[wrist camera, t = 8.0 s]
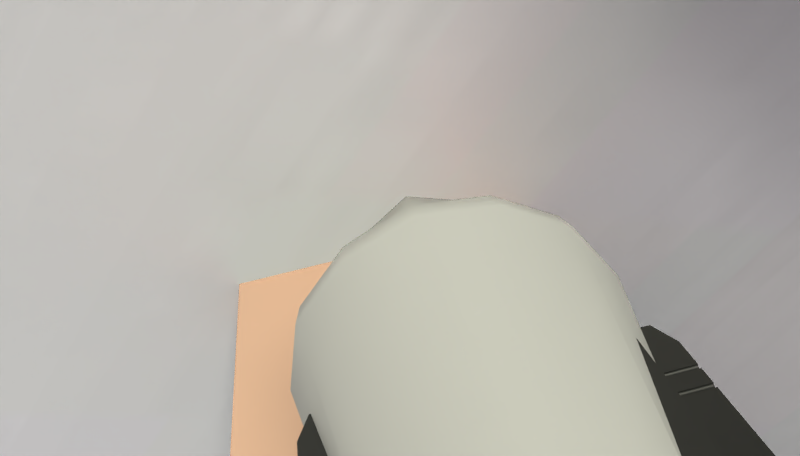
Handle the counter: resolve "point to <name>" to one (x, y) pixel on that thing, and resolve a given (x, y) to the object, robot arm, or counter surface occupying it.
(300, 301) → the tile
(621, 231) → the counter surface
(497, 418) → the salt shaker
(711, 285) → the counter surface
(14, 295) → the counter surface
